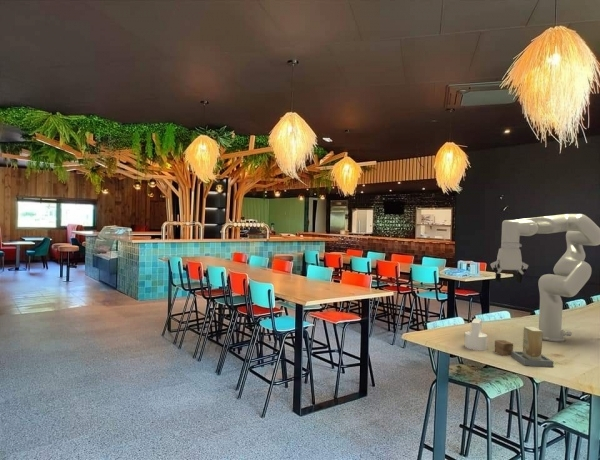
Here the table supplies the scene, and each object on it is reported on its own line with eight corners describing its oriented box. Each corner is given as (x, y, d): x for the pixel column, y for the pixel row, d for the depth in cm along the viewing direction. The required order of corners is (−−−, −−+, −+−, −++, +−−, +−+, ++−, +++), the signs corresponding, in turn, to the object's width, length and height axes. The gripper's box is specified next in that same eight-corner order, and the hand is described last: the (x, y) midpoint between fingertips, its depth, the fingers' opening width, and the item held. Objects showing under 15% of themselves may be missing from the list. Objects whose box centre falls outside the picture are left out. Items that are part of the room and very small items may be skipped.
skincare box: (521, 355, 165) (523, 326, 165) (531, 355, 166) (533, 326, 165) (531, 361, 159) (532, 330, 159) (542, 361, 159) (543, 330, 159)
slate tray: (537, 357, 168) (537, 352, 167) (553, 366, 157) (553, 361, 156) (511, 356, 168) (511, 351, 168) (524, 365, 157) (525, 360, 157)
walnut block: (504, 351, 174) (504, 340, 174) (512, 355, 170) (513, 343, 169) (494, 351, 173) (494, 340, 173) (502, 355, 168) (503, 344, 168)
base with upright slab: (485, 352, 173) (486, 324, 172) (463, 347, 177) (464, 321, 177) (488, 346, 180) (489, 320, 180) (466, 343, 185) (467, 317, 185)
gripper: (524, 246, 192) (522, 281, 193) (488, 245, 193) (486, 280, 193) (532, 247, 185) (531, 283, 185) (495, 246, 185) (493, 282, 186)
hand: (508, 282), depth 189 cm, fingers open, 9 cm apart
